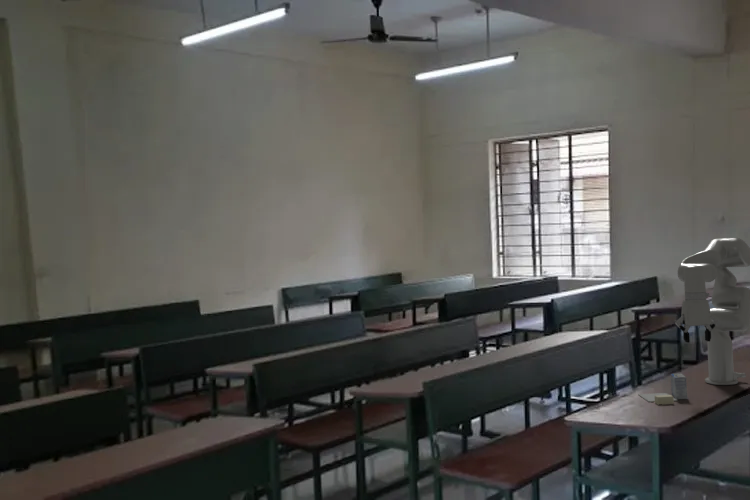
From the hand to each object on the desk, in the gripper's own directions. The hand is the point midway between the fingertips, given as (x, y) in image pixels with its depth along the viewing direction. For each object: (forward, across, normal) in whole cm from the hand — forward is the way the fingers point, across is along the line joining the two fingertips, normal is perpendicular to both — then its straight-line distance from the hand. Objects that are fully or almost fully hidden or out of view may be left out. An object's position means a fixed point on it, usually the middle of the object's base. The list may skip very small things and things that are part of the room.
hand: (697, 341), depth 279 cm
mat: (+22, +16, 0) cm, 27 cm away
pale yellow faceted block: (+22, +17, +9) cm, 29 cm away
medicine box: (+22, +8, 0) cm, 23 cm away
